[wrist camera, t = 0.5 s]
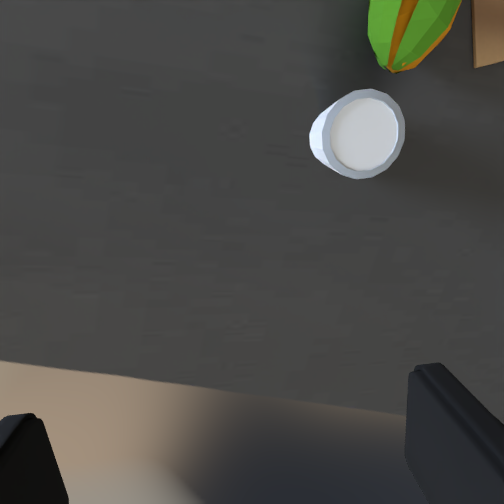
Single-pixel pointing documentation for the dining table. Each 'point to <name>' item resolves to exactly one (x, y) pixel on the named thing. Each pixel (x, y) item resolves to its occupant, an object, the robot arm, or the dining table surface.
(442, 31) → the corn
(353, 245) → the dining table surface
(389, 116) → the shot glass
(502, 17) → the placemat
